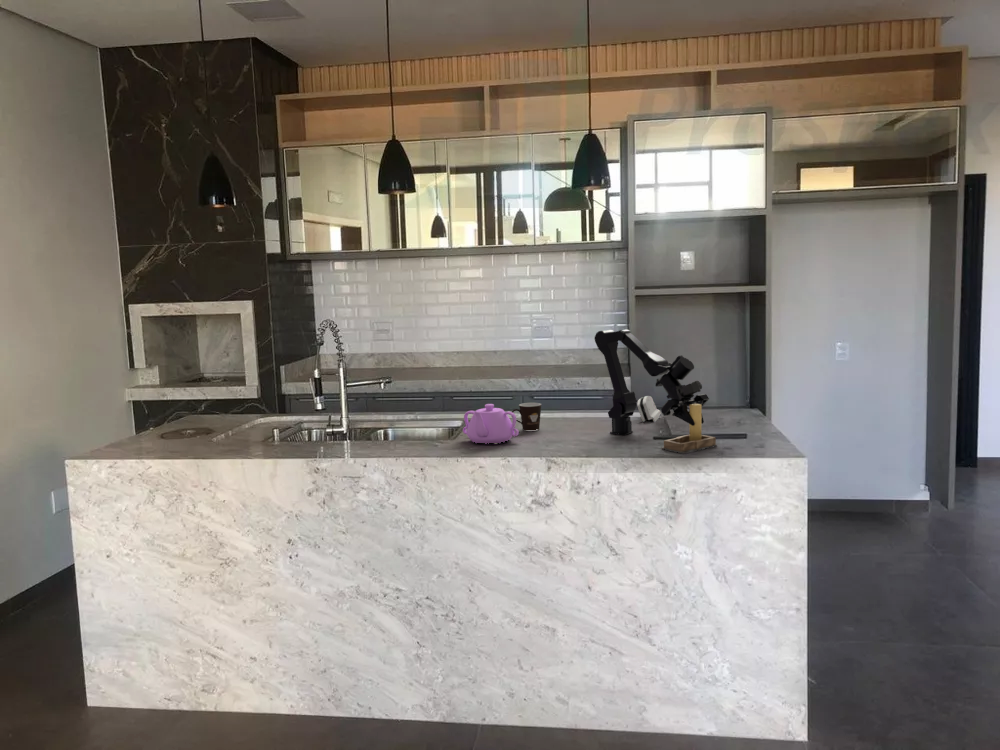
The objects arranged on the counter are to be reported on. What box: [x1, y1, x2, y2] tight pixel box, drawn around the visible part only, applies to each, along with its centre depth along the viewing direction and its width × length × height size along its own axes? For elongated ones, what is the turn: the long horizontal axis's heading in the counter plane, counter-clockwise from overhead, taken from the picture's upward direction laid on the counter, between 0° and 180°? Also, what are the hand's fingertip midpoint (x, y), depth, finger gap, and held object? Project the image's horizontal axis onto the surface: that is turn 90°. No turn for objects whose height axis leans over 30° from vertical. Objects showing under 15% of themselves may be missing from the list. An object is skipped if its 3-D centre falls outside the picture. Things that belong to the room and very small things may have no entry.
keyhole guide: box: [660, 434, 718, 455], centre depth 264 cm, size 16×10×3 cm, turn 124°
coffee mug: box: [511, 402, 542, 430], centre depth 303 cm, size 12×9×10 cm
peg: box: [688, 404, 703, 441], centre depth 265 cm, size 4×4×13 cm
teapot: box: [462, 403, 520, 445], centre depth 283 cm, size 22×22×14 cm
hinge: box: [636, 395, 662, 423], centre depth 318 cm, size 17×5×10 cm, turn 159°
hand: (698, 424), depth 264 cm, fingers closed on peg, 4 cm apart
